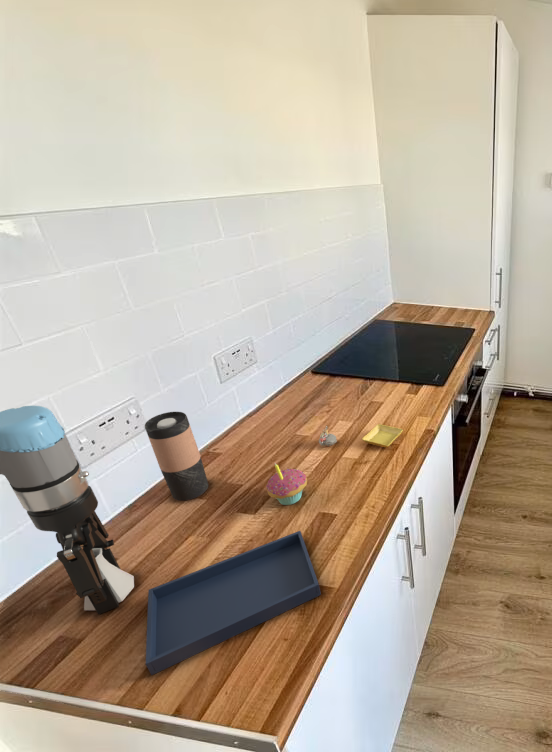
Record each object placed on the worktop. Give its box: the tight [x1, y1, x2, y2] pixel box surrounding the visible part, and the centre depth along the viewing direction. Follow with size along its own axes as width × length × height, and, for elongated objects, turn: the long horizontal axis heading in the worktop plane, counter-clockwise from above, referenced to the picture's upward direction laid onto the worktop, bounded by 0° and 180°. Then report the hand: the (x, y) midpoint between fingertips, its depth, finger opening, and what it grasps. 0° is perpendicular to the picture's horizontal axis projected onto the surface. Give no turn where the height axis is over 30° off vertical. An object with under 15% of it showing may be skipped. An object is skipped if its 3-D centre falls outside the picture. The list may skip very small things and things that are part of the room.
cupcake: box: [265, 462, 308, 506], centre depth 100 cm, size 9×8×12 cm
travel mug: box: [144, 411, 209, 502], centre depth 99 cm, size 8×8×20 cm
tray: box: [145, 530, 322, 676], centre depth 79 cm, size 25×15×3 cm, turn 125°
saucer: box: [361, 423, 404, 449], centre depth 125 cm, size 9×9×2 cm
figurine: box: [318, 424, 338, 448], centre depth 121 cm, size 5×4×6 cm
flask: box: [83, 548, 135, 611], centre depth 77 cm, size 7×7×10 cm
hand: (110, 592), depth 79 cm, fingers closed on flask, 7 cm apart
